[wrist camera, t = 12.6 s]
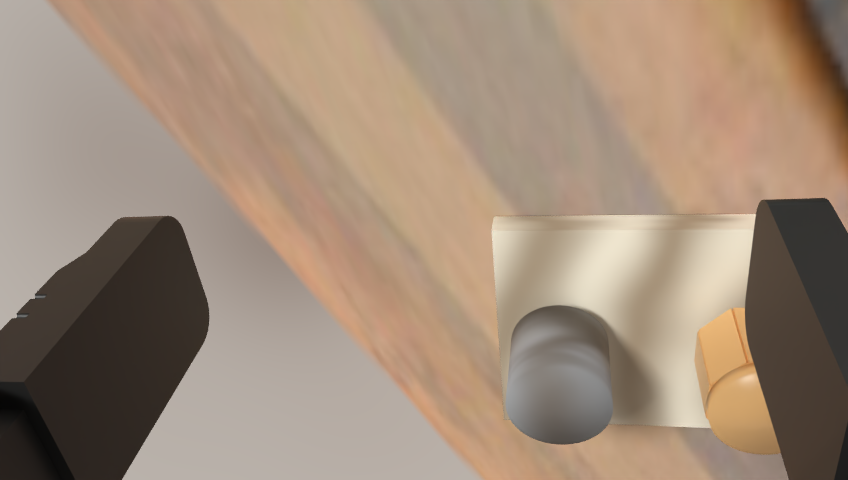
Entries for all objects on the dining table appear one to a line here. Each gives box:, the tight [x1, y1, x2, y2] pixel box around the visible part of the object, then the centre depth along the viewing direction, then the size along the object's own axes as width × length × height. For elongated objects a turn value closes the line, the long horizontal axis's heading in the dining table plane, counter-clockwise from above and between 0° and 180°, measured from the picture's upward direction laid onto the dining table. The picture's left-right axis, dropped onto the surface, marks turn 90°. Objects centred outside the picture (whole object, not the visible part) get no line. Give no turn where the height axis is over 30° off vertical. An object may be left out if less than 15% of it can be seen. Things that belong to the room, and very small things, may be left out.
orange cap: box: [694, 308, 781, 454], centre depth 39 cm, size 6×6×5 cm
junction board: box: [492, 214, 756, 444], centre depth 41 cm, size 17×14×7 cm
